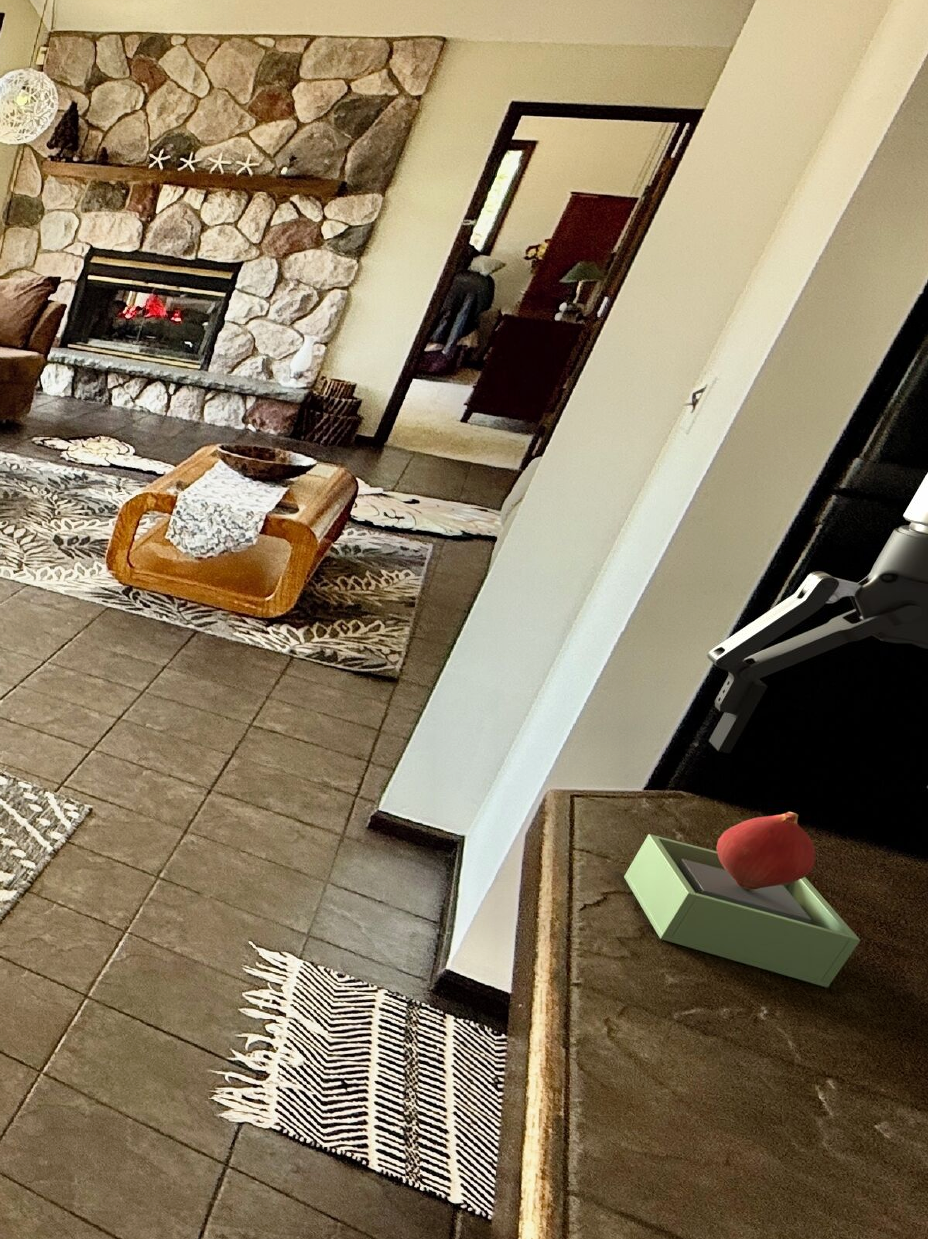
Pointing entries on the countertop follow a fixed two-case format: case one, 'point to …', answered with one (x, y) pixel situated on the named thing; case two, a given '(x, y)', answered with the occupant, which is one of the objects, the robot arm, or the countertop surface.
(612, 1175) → the countertop surface
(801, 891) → the crate
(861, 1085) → the countertop surface
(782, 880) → the onion
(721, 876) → the block
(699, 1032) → the countertop surface
